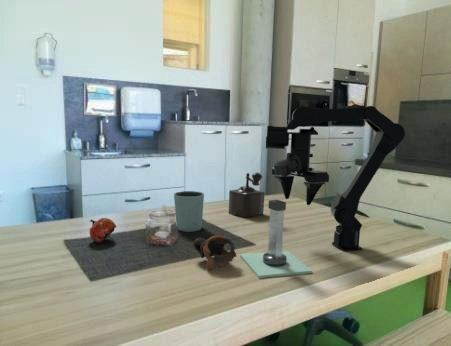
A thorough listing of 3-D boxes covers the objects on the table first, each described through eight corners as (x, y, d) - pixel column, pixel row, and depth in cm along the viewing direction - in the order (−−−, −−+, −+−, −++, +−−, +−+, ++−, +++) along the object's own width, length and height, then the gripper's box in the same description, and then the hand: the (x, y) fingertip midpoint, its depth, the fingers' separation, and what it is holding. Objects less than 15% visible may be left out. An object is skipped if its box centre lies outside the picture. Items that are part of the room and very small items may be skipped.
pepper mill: (226, 213, 144) (227, 169, 141) (245, 209, 151) (246, 167, 149) (255, 221, 133) (257, 173, 130) (274, 217, 140) (276, 171, 138)
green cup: (207, 231, 119) (208, 195, 118) (177, 233, 116) (178, 197, 114) (198, 223, 129) (198, 190, 127) (170, 225, 125) (170, 191, 123)
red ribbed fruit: (118, 245, 110) (96, 223, 111) (128, 229, 107) (105, 207, 108) (101, 255, 103) (78, 232, 105) (112, 239, 100) (88, 215, 102)
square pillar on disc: (276, 256, 96) (278, 198, 94) (291, 263, 91) (294, 202, 89) (258, 260, 93) (260, 200, 91) (272, 268, 88) (275, 205, 86)
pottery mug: (239, 260, 96) (243, 239, 91) (224, 287, 89) (227, 266, 84) (199, 243, 99) (201, 222, 94) (182, 268, 92) (183, 247, 87)
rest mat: (287, 252, 101) (287, 250, 101) (312, 272, 88) (312, 270, 87) (240, 256, 97) (240, 254, 97) (258, 278, 84) (258, 275, 84)
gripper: (259, 147, 109) (257, 198, 111) (302, 153, 93) (299, 211, 95) (287, 147, 115) (284, 195, 117) (332, 152, 99) (328, 207, 101)
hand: (297, 201), depth 107 cm, fingers open, 9 cm apart
